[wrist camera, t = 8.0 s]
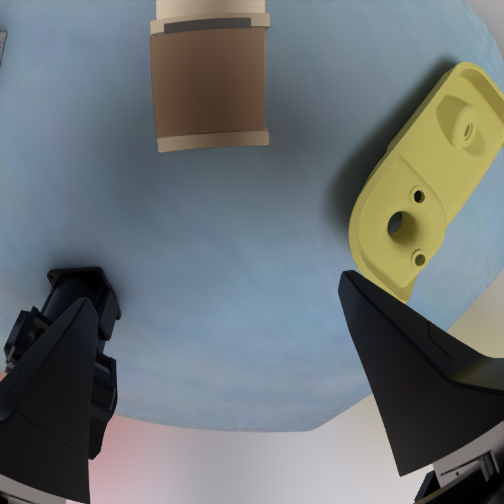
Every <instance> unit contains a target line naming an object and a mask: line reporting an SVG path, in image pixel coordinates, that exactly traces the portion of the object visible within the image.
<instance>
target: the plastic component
mask: <svg viewBox="0 0 504 504" xmlns="http://www.w3.org/2000/svg"><path fill="white" fill-rule="evenodd" d="M501 147H504V94H503V93H502V92H501V90H500V89H499V88H498V86H497V85H496V84H495V83H494V81H493V80H492V79H491V78H490V77H489V75H488V74H487V73H486V72H485V71H484V70H483V69H482V68H480V67H479V66H477V65H476V64H473V63H470V62H462V63H459V64H458V65H456V66H455V67H453V68H452V69H450V70H449V71H447V72H446V73H444V74H443V75H442V77H441V78H440V79H439V81H438V82H437V83H436V85H435V86H434V87H433V89H432V90H431V91H430V93H429V94H428V95H427V97H426V98H425V99H424V100H423V102H422V103H421V104H420V106H419V107H418V108H417V110H416V111H415V112H414V113H413V115H412V116H411V117H410V119H409V120H408V121H407V122H406V124H405V125H404V126H403V127H402V129H401V130H400V131H399V132H398V134H397V135H396V136H395V137H394V139H393V140H392V141H391V142H390V144H389V145H388V147H387V152H386V154H385V155H384V156H383V157H382V158H381V160H380V161H379V162H378V164H377V165H376V166H375V168H374V169H373V171H372V172H371V174H370V176H369V177H368V179H367V181H366V183H365V185H364V187H363V189H362V191H361V192H360V194H359V196H358V198H357V201H356V203H355V205H354V208H353V211H352V214H351V218H350V222H349V231H348V236H349V245H350V250H351V254H352V256H353V259H354V262H355V263H356V265H357V267H358V269H359V270H360V272H361V273H362V274H363V275H364V277H365V278H367V279H368V280H370V281H371V282H373V283H374V284H376V285H377V286H379V287H380V288H382V289H383V290H385V291H386V292H388V293H389V294H391V295H392V296H394V297H395V298H397V299H398V300H400V301H401V302H403V303H404V304H406V302H407V301H408V300H409V299H410V296H411V292H412V289H413V285H414V283H415V280H416V277H417V275H418V273H419V272H420V271H421V270H422V269H423V268H425V267H426V265H427V264H428V262H429V260H430V259H431V258H432V257H433V256H434V255H435V253H436V252H437V251H438V249H439V248H440V246H441V244H442V242H443V239H444V236H445V231H446V228H447V226H448V225H449V224H450V222H451V221H452V220H453V219H454V217H455V216H456V215H457V213H458V212H459V211H460V209H461V208H462V206H463V205H464V204H465V202H466V201H467V200H468V198H469V197H470V195H471V194H472V192H473V191H474V190H475V188H476V187H477V185H478V184H479V182H480V181H481V179H482V178H483V176H484V174H485V173H486V171H487V170H488V168H489V167H490V165H491V163H492V162H493V160H494V158H495V157H496V155H497V153H498V152H499V150H500V148H501ZM417 190H419V191H420V192H421V200H420V201H418V202H416V201H415V200H414V193H415V192H416V191H417ZM398 211H400V212H401V214H402V224H401V226H400V228H399V229H398V230H397V231H395V232H392V233H388V231H387V226H388V222H389V220H390V218H391V216H392V215H393V214H394V213H396V212H398Z"/></svg>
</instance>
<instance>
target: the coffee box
mask: <svg viewBox="0 0 504 504" xmlns="http://www.w3.org/2000/svg"><path fill="white" fill-rule="evenodd" d="M6 34H7V32H6V31H0V63H1V57H2V52H3V47H4V42H5V38H6Z"/></svg>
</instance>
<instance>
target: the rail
mask: <svg viewBox="0 0 504 504" xmlns="http://www.w3.org/2000/svg"><path fill="white" fill-rule="evenodd" d="M213 18H251V28H256V29H265V30H267V29H268V28H269V27H270V13H265V0H157V4H156V20H153V21H150V34H151V35H153V36H159V35H164V24H166V23H173V22H180V21H189V20H199V19H213ZM157 142H158V151H159V153H160V152H169V151H178V150H188V149H199V148H212V147H227V146H251V145H269V130H268V129H267V128H266V127H265V130H239V131H220V132H206V133H194V134H184V135H175V136H167V137H159V138H157Z"/></svg>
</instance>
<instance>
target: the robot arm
mask: <svg viewBox="0 0 504 504" xmlns="http://www.w3.org/2000/svg"><path fill="white" fill-rule="evenodd" d="M97 273H99V274H97ZM47 278H48V280H49V282H50V284H51V285H52V287H53V288H52V290H51V292H50V294H49V296H48V298H47V300H46V302H45V304H44V306H43V308H42V310H41V312H39V311H38V309H37V308H36V307H34V306H33V307H32V309H31V311H30V312H29V311H23V310H21V312H20V314H19V316H18V318H17V320H16V322H15V324H14V327H13V329H12V331H11V333H10V335H9V338H8V340H7V342H6V344H5V347H4V352H5V355H6V358H7V359H6V362H5V363H6V364H7V366H6V369H5V373H6V374H7V375H6V376H5V377H4V378H3V379H2V381H1V382H0V504H66V499H69V500H72V501H76V502H80V503H85V504H90V491H89V471H88V470H89V469H88V459H90V460H93V459H94V458H95V457H96V456H97V455H98V454H99V452H100V451H101V446H102V441H103V436H104V432H105V429H106V426H107V423H108V421H109V420H110V419H111V418H112V416H113V414H114V411H115V408H116V405H117V375H116V360H115V359H113V358H112V357H108V356H106V355H104V354H103V350H104V346H105V342H106V341H109V340H110V339H111V335H112V331H113V327H114V324H115V320H119V319H120V318H121V313H120V310H119V306H118V304H117V302H116V299H115V297H114V295H113V293H112V290H111V289H110V288H109V285H108V283H107V281H106V278H105V276H104V273H103V271H102V270H101V269H100V268H97V267H94V268H79V269H64V270H50V271H49V272H48V273H47ZM338 294H339V298H340V301H341V305H342V308H343V312H344V315H345V319H346V322H347V326H348V329H349V332H350V335H351V337H352V340H353V342H354V345H355V347H356V350H357V352H358V355H359V357H360V360H361V363H362V365H363V368H364V370H365V373H366V376H367V378H368V381H369V384H370V387H371V389H372V392H373V395H374V398H375V400H376V403H377V406H378V409H379V412H380V415H381V418H382V420H383V423H384V427H385V429H386V433H387V436H388V439H389V443H390V445H391V449H392V452H393V455H394V459H395V462H396V466H397V469H398V472H399V475H400V477H401V476H404V475H406V474H409V473H411V472H414V471H416V470H418V469H421V468H423V467H425V466H427V465H429V464H433V467H434V470H432V471H431V472H429V473H427V474H426V477H425V479H424V481H423V483H422V485H421V487H420V490H419V491H418V494H417V496H416V498H415V499H414V501H415V503H413V504H504V358H491V357H487V356H485V355H483V354H481V353H479V352H477V351H476V350H474V349H473V348H471V347H469V346H468V345H466V344H464V343H462V342H461V341H459V340H458V339H456V338H454V337H453V336H451V335H449V334H448V333H446V332H445V331H443V330H442V329H440V328H439V327H437V326H436V325H435V324H433V323H432V322H430V321H429V320H427V319H426V318H424V317H423V316H422V315H420V314H419V313H417V312H416V311H414V310H413V309H412V308H410V307H409V306H407V305H406V304H404V303H403V302H401V301H400V300H398V299H397V298H395V297H394V296H392V295H391V294H389V293H388V292H386V291H385V290H383V289H382V288H380V287H379V286H377V285H376V284H374V283H373V282H371V281H370V280H368V279H367V278H365V277H364V276H362V275H361V274H359V273H358V272H356V271H354V270H348V271H343V272H342V274H341V278H340V283H339V287H338Z"/></svg>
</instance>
